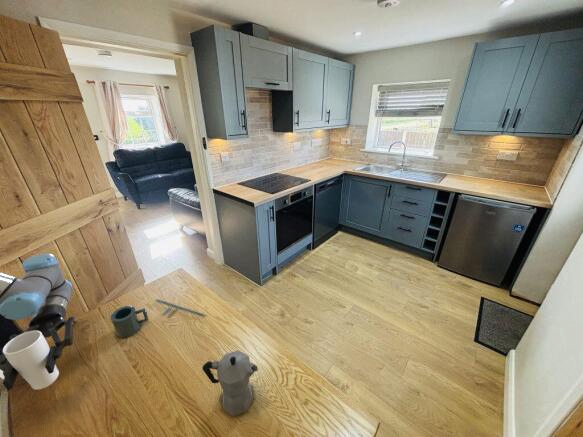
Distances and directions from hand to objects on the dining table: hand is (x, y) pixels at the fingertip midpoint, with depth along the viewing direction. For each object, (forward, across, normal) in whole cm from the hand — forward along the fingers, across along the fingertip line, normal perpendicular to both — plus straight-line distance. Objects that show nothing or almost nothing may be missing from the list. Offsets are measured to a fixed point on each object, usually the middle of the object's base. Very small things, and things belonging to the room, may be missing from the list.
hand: (29, 377), depth 57 cm
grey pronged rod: (-11, -15, -17) cm, 25 cm away
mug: (-24, -19, -18) cm, 36 cm away
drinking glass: (-5, 0, -8) cm, 10 cm away
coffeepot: (+21, -42, -18) cm, 51 cm away
